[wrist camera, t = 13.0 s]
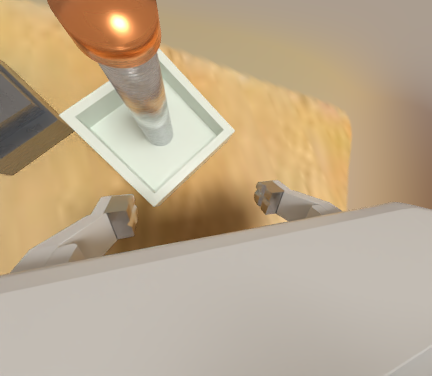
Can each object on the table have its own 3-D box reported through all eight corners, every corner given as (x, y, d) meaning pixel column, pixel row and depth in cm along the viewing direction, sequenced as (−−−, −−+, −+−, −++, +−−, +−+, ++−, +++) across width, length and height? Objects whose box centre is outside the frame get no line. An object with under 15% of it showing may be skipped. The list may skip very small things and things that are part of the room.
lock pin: (183, 134, 20) (176, 13, 7) (158, 155, 19) (100, 62, 6) (160, 110, 20) (108, -64, 7) (134, 131, 19) (18, -22, 6)
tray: (227, 141, 22) (234, 130, 19) (159, 205, 20) (153, 206, 16) (162, 72, 21) (158, 47, 18) (81, 130, 19) (58, 115, 15)
